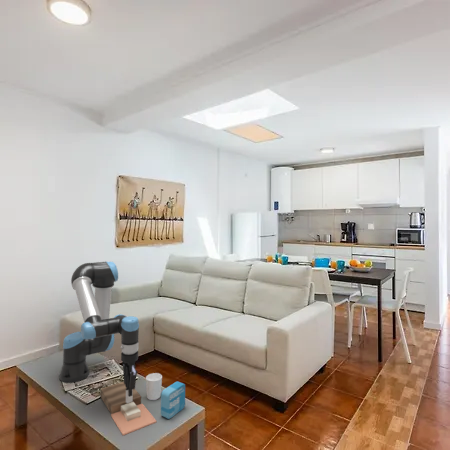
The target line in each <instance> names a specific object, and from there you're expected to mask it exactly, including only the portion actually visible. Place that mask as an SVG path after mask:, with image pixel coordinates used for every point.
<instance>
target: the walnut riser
mask: <svg viewBox="0 0 450 450" xmlns="http://www.w3.org/2000/svg"><path fill="white" fill-rule="evenodd" d="M99 392H100V393H99V395H100V399H101V400H102V402H103V403H104V405H105V406H106V408H107V410H108V411H109V413H110V415H111V414H114V413H117V412H120V411H121V406H122V405H125V404H128V403H126V387H125V384H124V381H121V382H117V383H115V384H112V385H109V386H105V387H101V388H100V390H99ZM132 402H134V403H135V404H136V406H137V405H139V404H142V396H141V395H140V394H139V392H138V391H137V390H136V388H135V389H133V401H132ZM130 403H131V402H130Z"/></svg>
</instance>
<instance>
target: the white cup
mask: <svg viewBox="0 0 450 450" xmlns="http://www.w3.org/2000/svg"><path fill="white" fill-rule="evenodd" d="M162 380H163V375H162V374H161V373H159V372H155V373H154V372H153V373H149V374H148V375H146V376H145V385H146V386H145V387H146V388H145V389H146V390H145V391H146V397H147V400H151V401H156V400H158V399H161V393H162V383H163V381H162Z"/></svg>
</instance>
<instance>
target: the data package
mask: <svg viewBox="0 0 450 450" xmlns="http://www.w3.org/2000/svg"><path fill="white" fill-rule="evenodd" d="M185 405H186V384H185V383H183V382H180V381H175V382H174V383H172V384H170V385H169V386H167V387H166V388H164V389H162V390H161V396H160V415H161V416H162V417H163V418H165V419H168V420H169V419H171V418H173V417H174V416H175V415H177V414H178V413H179V412H181V411H182V410H183V409H184V408H185V407H186V406H185Z"/></svg>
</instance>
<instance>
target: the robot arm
mask: <svg viewBox="0 0 450 450" xmlns="http://www.w3.org/2000/svg"><path fill="white" fill-rule="evenodd" d="M117 267H118V266H117V265H116V263H115V262H114V261H100V262H99V261H96V262H86V263H83V264H81V265H79V266H77V268H75V270H74V271H73V273H72V276H71V279H70V280H71V281H70V282H71V283H70V284H71V287H72V289H73V290H74V291H75V293H76V297H77V301H78V305H79V308H80V312H81V317H82V320H83V322H82V324H81V327H80V331H75V332H72V333H69V334H68V335H66V336H65V337H64V339H63V342H62V344H63V345H62V354H63V355H62V365H61V369H60V371H59V376H58V378H59V381H61V382H62V381H63V382H62V383H77V382H81V381H82V380H85V379H86V378H88V376H89V375H90V368H89V366H88V362H87V356H90V355H94V354H95V355H96V354H99V353H104V352H106V351H110V350H112V349H113V347H114V345H115V335H117V334H120V335H121V346H120V349H121V351H120V352H121V353H120V360H121V362H122V363H121V364H122V370H123V371H122V373H123V382H124V384H125V387H126V403H130V402H132V401H133V389H135V390H136V382H137V375H138V370H136V364H135V363H136V361H138V360H139V346H140V345H139V329H140V328H139V327H140V323H139V318H138V317H136V316H127V315H125V314H121V313H120V314H119V313H118V314H117V315H115V316H114V317H112V318H110V313H111V312H110V311H111V310H110V309H111V297H112V296H111V294H112V288H113V287H114V286H115V283H116V282H118V279H119V271H118V268H117ZM93 288H94V292H93Z"/></svg>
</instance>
